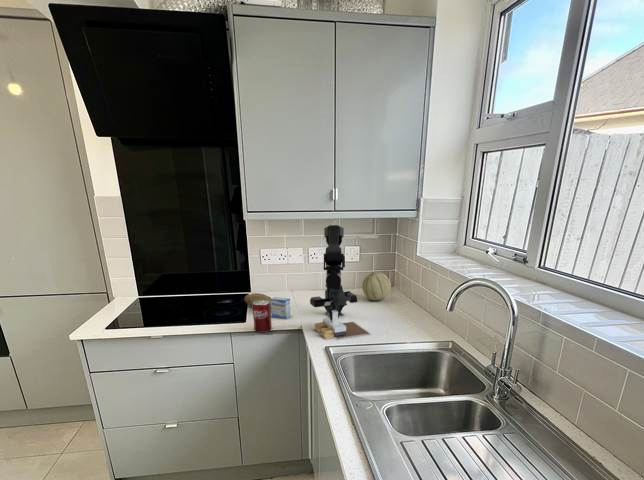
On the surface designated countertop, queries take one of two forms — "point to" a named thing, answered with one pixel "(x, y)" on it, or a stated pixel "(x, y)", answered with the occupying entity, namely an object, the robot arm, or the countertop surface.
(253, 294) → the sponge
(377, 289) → the cantaloupe
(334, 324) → the brush
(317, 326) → the crumb
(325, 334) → the crumb
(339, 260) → the robot arm
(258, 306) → the soda can
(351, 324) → the spill patch
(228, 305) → the countertop surface
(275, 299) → the medicine box
